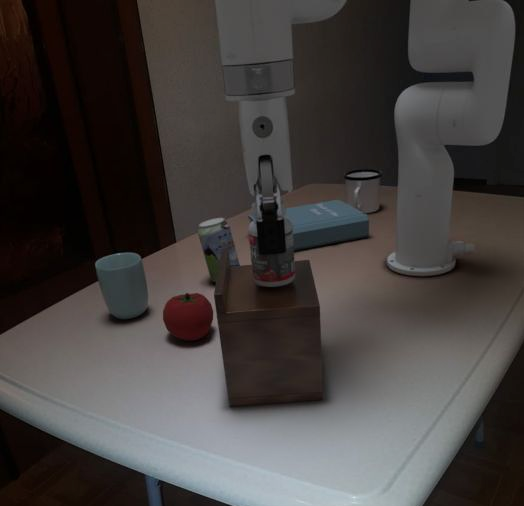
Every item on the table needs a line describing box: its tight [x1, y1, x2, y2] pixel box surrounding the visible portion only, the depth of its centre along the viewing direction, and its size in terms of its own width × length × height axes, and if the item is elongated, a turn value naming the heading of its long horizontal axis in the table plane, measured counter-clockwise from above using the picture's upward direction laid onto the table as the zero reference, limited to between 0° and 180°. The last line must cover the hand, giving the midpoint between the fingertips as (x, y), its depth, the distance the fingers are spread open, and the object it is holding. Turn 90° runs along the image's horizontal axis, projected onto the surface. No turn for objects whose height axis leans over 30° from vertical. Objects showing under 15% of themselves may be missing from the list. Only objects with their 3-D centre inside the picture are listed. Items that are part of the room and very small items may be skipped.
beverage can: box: [197, 217, 241, 283], centre depth 105 cm, size 6×7×12 cm
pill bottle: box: [247, 199, 296, 287], centre depth 68 cm, size 5×5×10 cm
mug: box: [342, 168, 383, 215], centre depth 139 cm, size 12×10×9 cm
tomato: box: [162, 292, 214, 341], centre depth 87 cm, size 8×8×7 cm
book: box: [247, 199, 370, 252], centre depth 125 cm, size 23×16×5 cm
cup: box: [94, 252, 149, 320], centre depth 96 cm, size 8×8×10 cm
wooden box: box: [213, 250, 324, 407], centre depth 73 cm, size 12×15×16 cm
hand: (272, 243), depth 68 cm, fingers closed on pill bottle, 5 cm apart
